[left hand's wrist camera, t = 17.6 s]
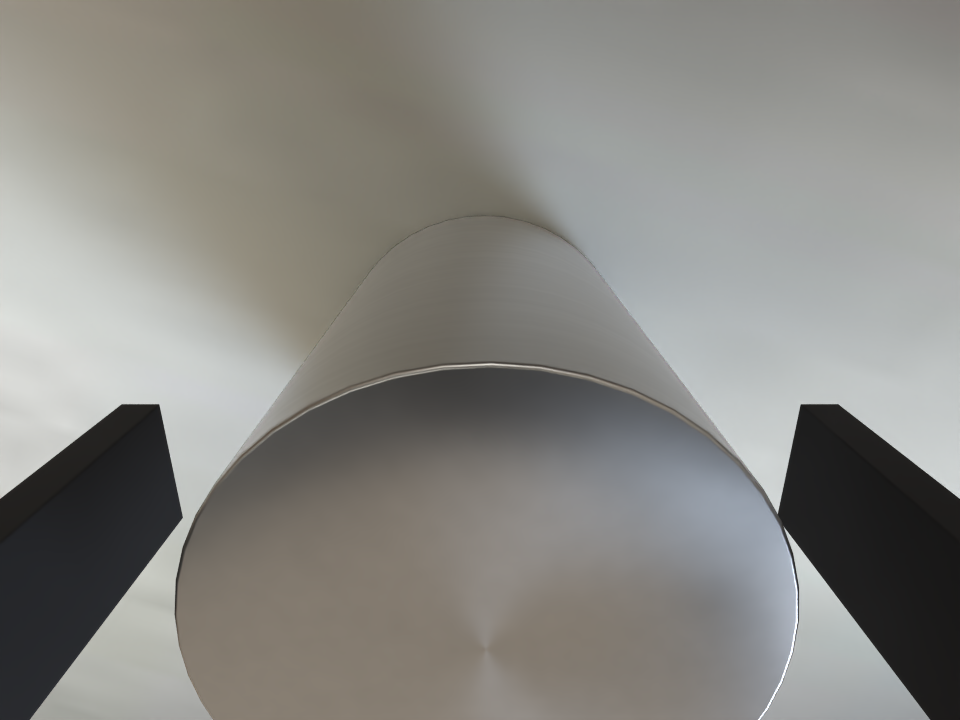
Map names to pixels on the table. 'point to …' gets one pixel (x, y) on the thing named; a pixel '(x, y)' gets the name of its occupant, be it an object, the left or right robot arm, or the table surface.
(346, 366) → the tin
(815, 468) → the left robot arm
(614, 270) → the table surface
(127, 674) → the table surface
